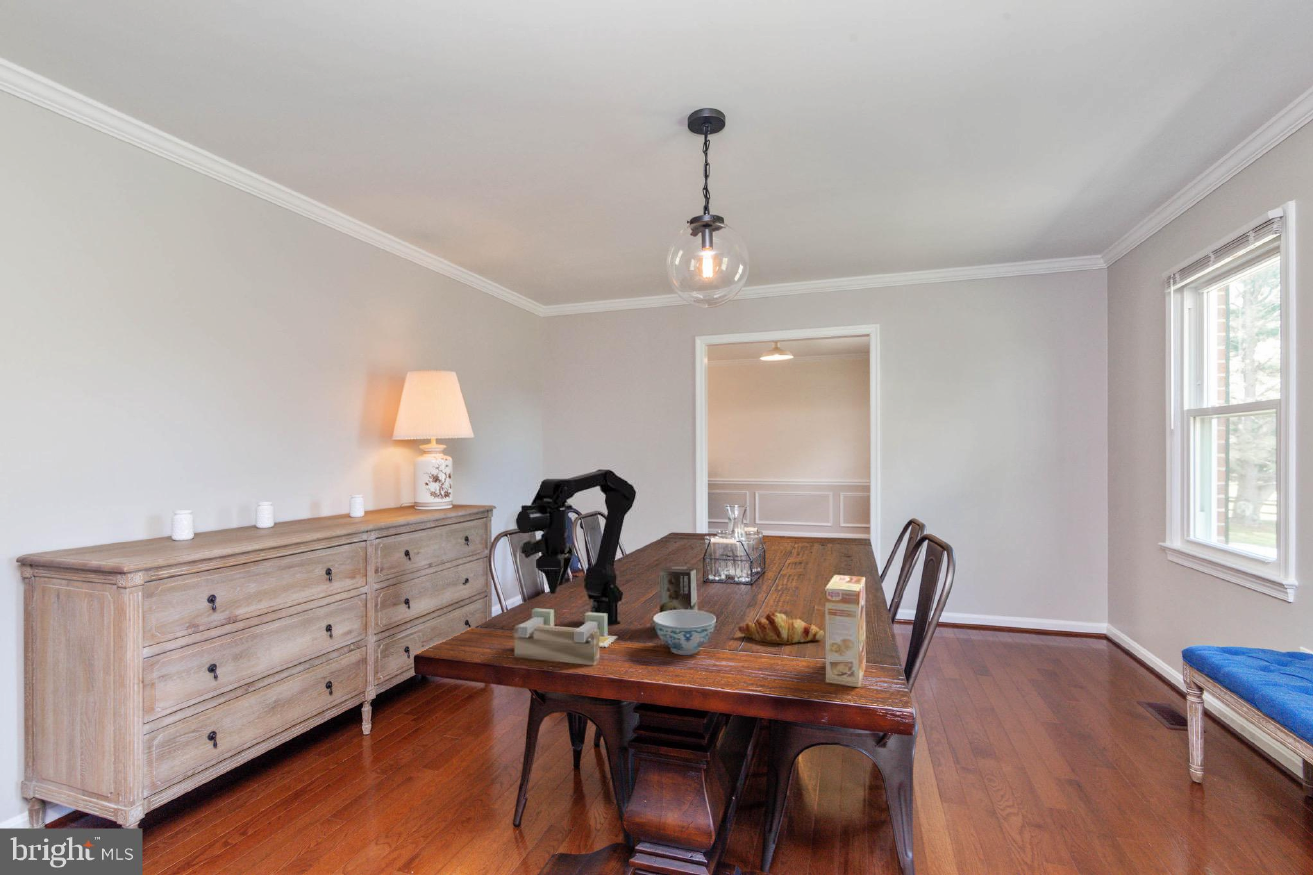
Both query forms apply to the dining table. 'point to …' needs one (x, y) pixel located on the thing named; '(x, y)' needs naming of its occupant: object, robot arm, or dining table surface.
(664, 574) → the coffee box
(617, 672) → the dining table surface
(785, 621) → the croissant
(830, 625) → the coffeecake box
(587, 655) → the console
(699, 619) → the chinaware
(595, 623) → the button
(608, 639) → the card
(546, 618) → the button
